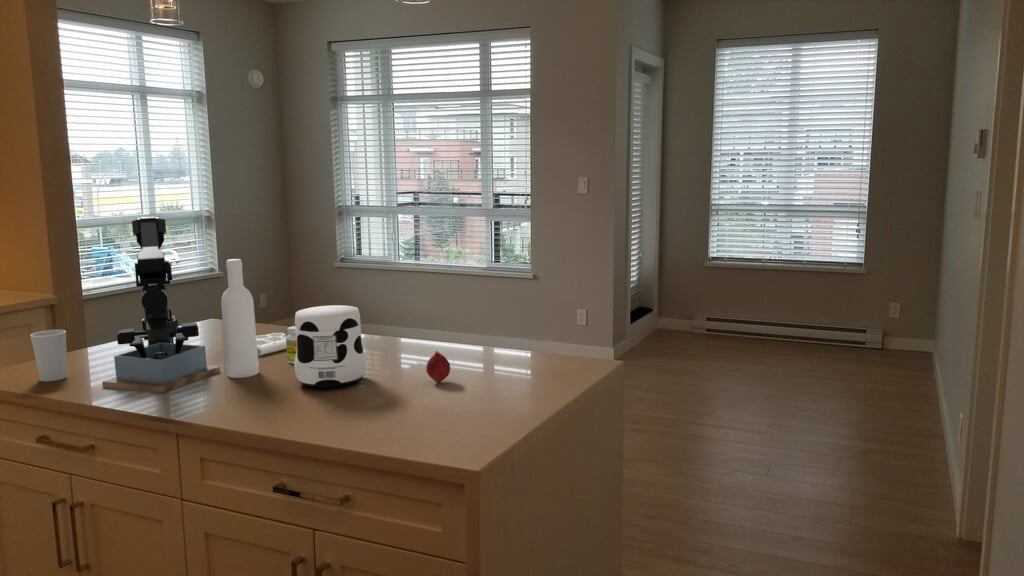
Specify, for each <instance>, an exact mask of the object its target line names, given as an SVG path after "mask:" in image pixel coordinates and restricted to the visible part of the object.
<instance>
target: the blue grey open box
mask: <svg viewBox="0 0 1024 576" xmlns="http://www.w3.org/2000/svg"><path fill="white" fill-rule="evenodd" d="M144 347H145V351H146V355H147V358H142V357H141V355H140V354H139V352H138V351H137V349H134V350H130V351H127V352H123V353H120V354H116V355H114V356H113V358H114V369H115V377H116V378H117V379H118V380H127V381H137V382H147V383H157V384H165V383H167V382H170V381H173V380H176V379H179V378H181V377H184V376H187V375H190V374H193V373H195V372H198V371H201V370H204V369H207V365H208V364H207V353H206V345H200V344H199V345H195V344H184V343H183V345H182V347H181V350H180V353H179V354H176V355H175V343H174V344H173V343H157V344H154V345H150V346H148V345H147V346H144ZM158 351H167V352H168V357H166V358H163V359H154V353H155V352H158Z"/></svg>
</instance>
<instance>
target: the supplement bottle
mask: <svg viewBox="0 0 1024 576" xmlns="http://www.w3.org/2000/svg"><path fill="white" fill-rule="evenodd" d="M287 333H288V335H286V346H287V349H286V353H287V354H286V355H287V356H286V357H287V362H288V363H289V364H293V365H294V362H295V356H296V351H297V340H296V325H292V326H289V327H287Z"/></svg>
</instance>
